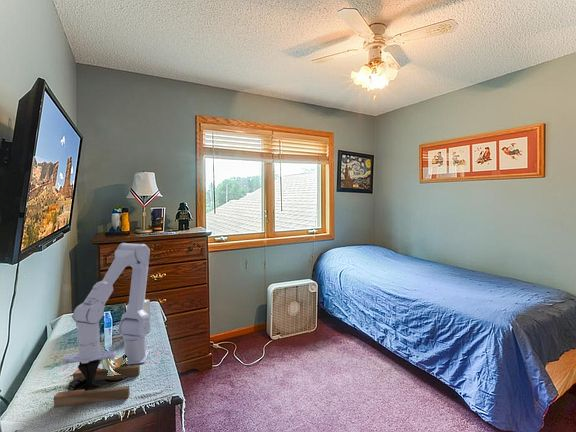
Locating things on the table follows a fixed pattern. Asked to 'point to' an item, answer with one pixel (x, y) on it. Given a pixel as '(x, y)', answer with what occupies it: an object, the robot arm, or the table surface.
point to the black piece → (81, 385)
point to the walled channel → (98, 394)
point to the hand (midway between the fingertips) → (91, 382)
